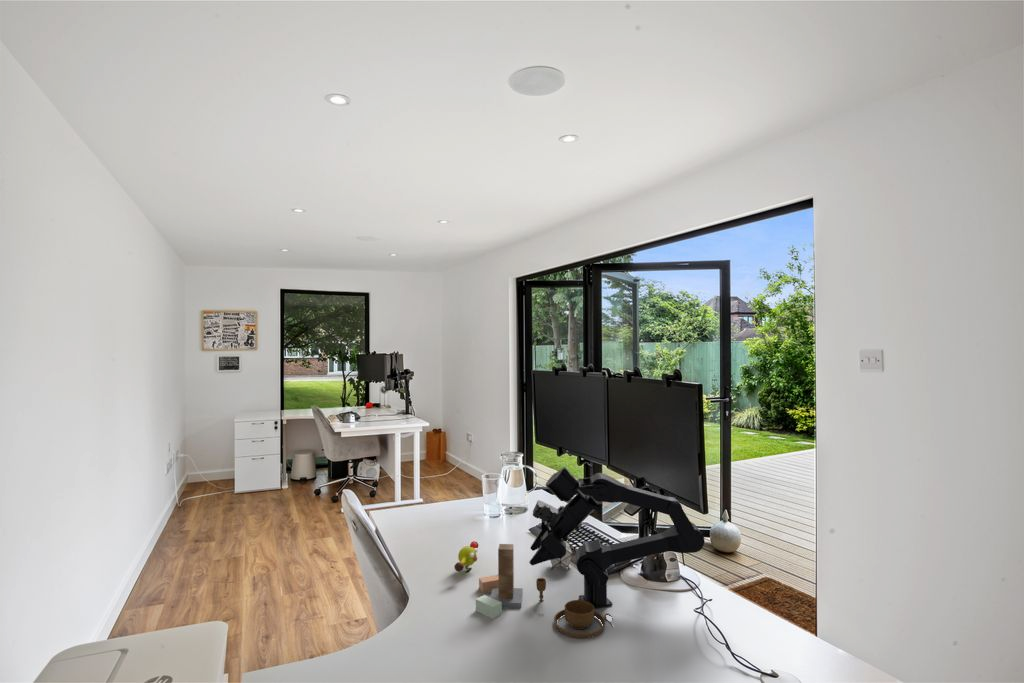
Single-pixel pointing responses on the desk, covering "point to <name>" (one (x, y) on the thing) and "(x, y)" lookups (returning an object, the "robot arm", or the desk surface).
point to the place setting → (574, 614)
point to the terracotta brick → (488, 583)
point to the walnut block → (506, 571)
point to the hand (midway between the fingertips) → (531, 556)
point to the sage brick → (488, 606)
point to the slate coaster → (509, 603)
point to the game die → (563, 558)
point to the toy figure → (467, 557)
